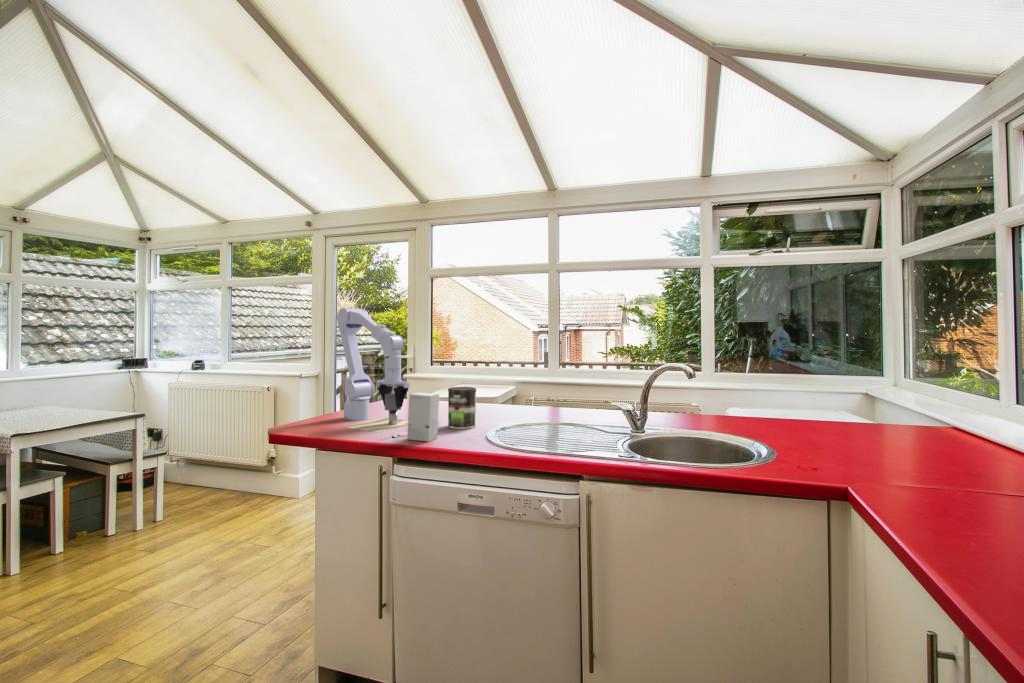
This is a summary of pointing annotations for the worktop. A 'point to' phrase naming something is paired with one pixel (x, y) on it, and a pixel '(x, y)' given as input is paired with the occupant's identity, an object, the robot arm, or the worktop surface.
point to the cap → (390, 402)
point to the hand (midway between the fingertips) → (393, 406)
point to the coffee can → (461, 407)
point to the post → (392, 417)
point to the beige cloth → (377, 425)
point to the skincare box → (423, 416)
